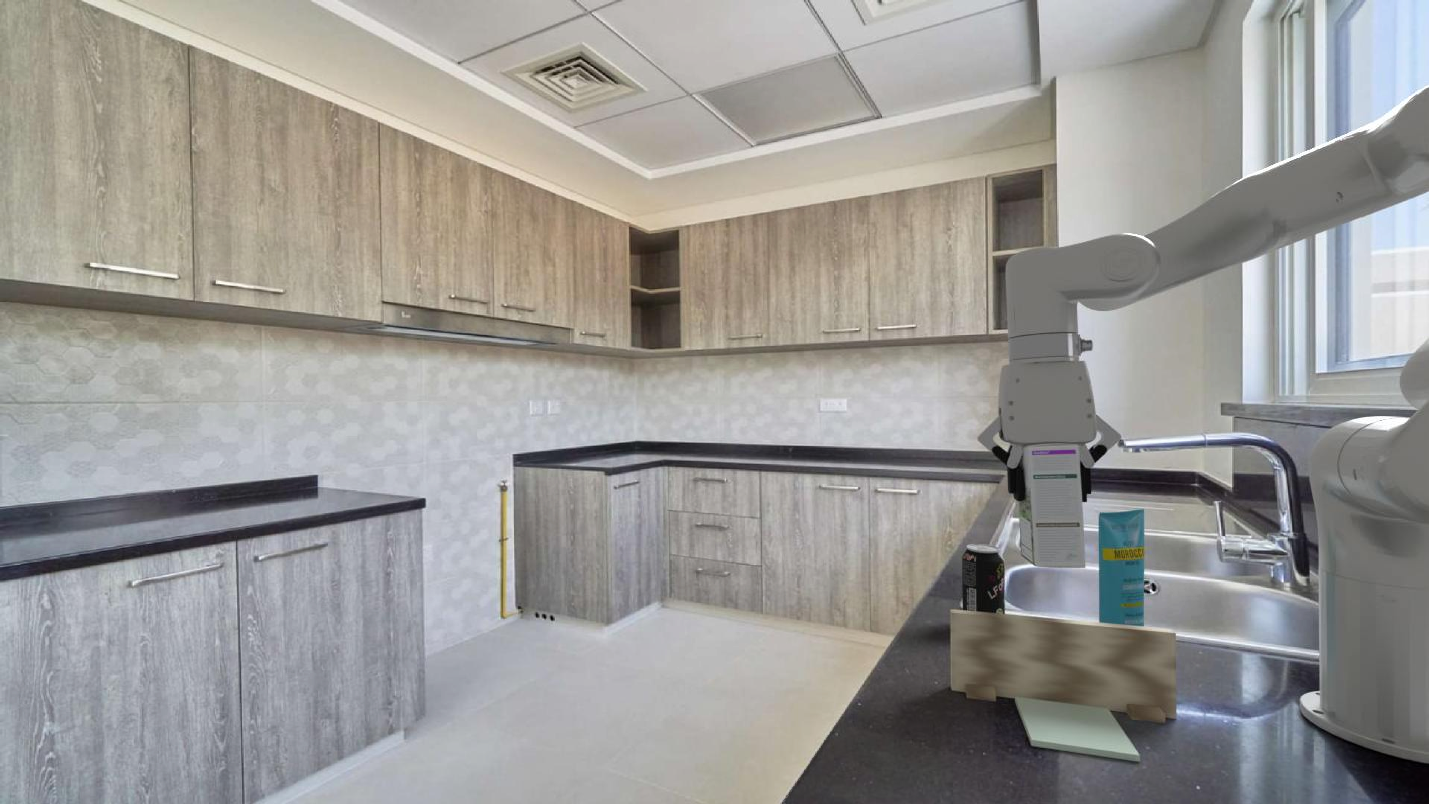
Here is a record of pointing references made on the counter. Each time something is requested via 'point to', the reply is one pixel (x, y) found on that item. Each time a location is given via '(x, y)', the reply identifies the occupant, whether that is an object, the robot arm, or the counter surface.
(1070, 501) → the syrup box
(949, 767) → the counter surface
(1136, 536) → the tube
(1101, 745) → the green pad
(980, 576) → the beverage can
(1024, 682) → the birch board
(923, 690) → the counter surface
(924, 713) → the counter surface
